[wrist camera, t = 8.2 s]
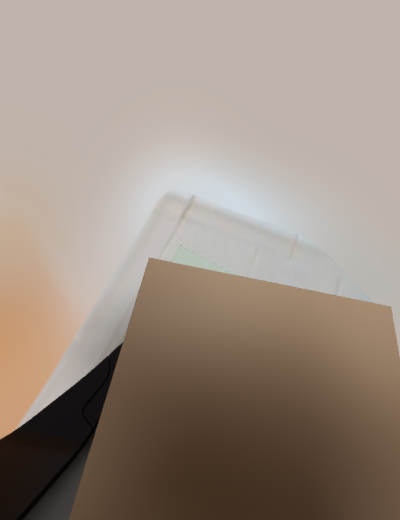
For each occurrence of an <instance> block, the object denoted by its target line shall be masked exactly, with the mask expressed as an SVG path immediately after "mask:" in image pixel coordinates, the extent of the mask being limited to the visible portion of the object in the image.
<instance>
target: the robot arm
mask: <svg viewBox="0 0 400 520" xmlns="http://www.w3.org/2000/svg"><path fill="white" fill-rule="evenodd" d="M122 345H123V342H122V343H121V344H120V345H119V346H118V347H117V348H116V349H115V350H114V351H113V352H112V353H110V356H107V357H106V358H105V359H104V360H103V361H102V362H101V363H99V364H98V365H97V366H96V367H95V368H94V369H93V370H92V371H90V372H89V373H88V374H87V375H86V376H84V377H83V378H82V379H81V380H80V381H78V382H77V383H76V384H75V385H73V386H72V387H71V388H70V389H68V390H67V391H66V392H65V393H63V394H62V395H61V396H59V397H58V398H57V399H56V400H54V401H53V402H52V403H51V404H49V405H48V406H47V407H46V408H44V409H43V410H42V411H40V412H39V413H38V414H37V415H35V416H34V417H33V418H31V419H30V420H29V421H28V422H26V423H25V424H23V425H22V426H21V427H19V428H18V429H16V430H15V431H13V432H12V433H11V434H9V435H7V436H5V437H4V438H2V439H0V520H69V517H70V514H71V510H72V507H73V504H74V501H75V497H76V494H77V491H78V488H79V484H80V481H81V478H82V475H83V471H84V468H85V465H86V462H87V458H88V455H89V452H90V449H91V445H92V442H93V439H94V436H95V432H96V429H97V426H98V423H99V419H100V416H101V413H102V410H103V406H104V403H105V400H106V397H107V393H108V390H109V387H110V384H111V380H112V377H113V374H114V371H115V367H116V364H117V361H118V358H119V354H120V351H121V348H122Z"/></svg>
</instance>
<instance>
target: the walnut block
mask: <svg viewBox="0 0 400 520" xmlns="http://www.w3.org/2000/svg"><path fill="white" fill-rule="evenodd" d="M69 520H400V357H399V352H398V345H397V339H396V334H395V328H394V322H393V316H392V310H391V307H390V306H385V305H380V304H375V303H370V302H365V301H360V300H355V299H350V298H346V297H341V296H336V295H331V294H326V293H321V292H316V291H311V290H306V289H301V288H296V287H291V286H286V285H281V284H277V283H272V282H267V281H262V280H257V279H252V278H247V277H242V276H237V275H232V274H227V273H222V272H217V271H213V270H208V269H203V268H198V267H193V266H188V265H183V264H178V263H173V262H168V261H163V260H158V259H153V258H149V260H148V263H147V267H146V270H145V273H144V276H143V280H142V283H141V286H140V289H139V293H138V296H137V299H136V302H135V306H134V309H133V312H132V315H131V319H130V322H129V325H128V328H127V332H126V335H125V338H124V341H123V345H122V348H121V351H120V354H119V358H118V361H117V364H116V367H115V371H114V374H113V377H112V380H111V384H110V387H109V390H108V393H107V397H106V400H105V403H104V406H103V410H102V413H101V416H100V419H99V423H98V426H97V429H96V432H95V436H94V439H93V442H92V445H91V449H90V452H89V455H88V458H87V462H86V465H85V468H84V471H83V475H82V478H81V481H80V484H79V488H78V491H77V494H76V497H75V501H74V504H73V507H72V510H71V514H70V517H69Z"/></svg>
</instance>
